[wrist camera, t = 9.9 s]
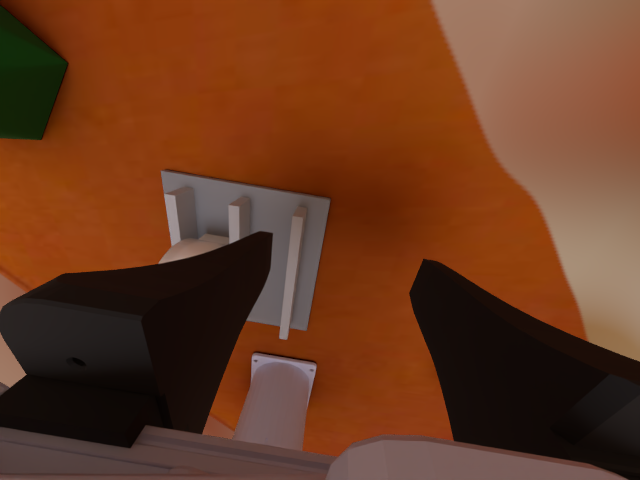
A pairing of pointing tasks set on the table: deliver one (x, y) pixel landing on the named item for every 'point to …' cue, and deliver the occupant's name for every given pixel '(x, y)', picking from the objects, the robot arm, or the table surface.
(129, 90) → the table surface
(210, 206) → the dish rack
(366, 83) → the table surface
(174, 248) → the cream round puck
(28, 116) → the milk carton
